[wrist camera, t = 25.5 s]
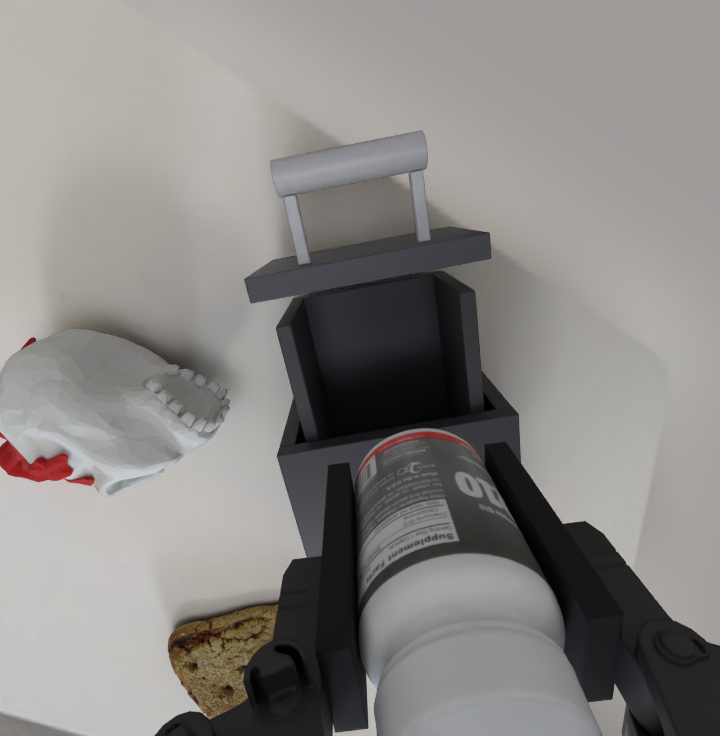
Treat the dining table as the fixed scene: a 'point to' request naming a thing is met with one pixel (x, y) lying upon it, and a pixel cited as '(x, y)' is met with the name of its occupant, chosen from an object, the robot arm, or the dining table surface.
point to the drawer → (374, 305)
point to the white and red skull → (100, 411)
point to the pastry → (219, 655)
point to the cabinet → (310, 460)
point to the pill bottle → (455, 601)
